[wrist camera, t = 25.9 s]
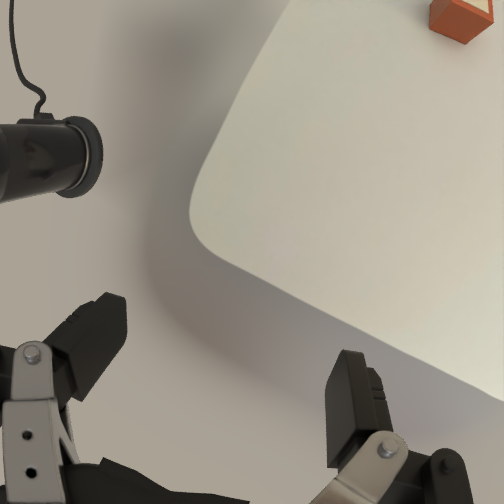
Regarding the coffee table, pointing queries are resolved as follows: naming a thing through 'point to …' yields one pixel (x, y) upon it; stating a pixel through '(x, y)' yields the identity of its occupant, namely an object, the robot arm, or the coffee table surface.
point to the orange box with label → (460, 18)
